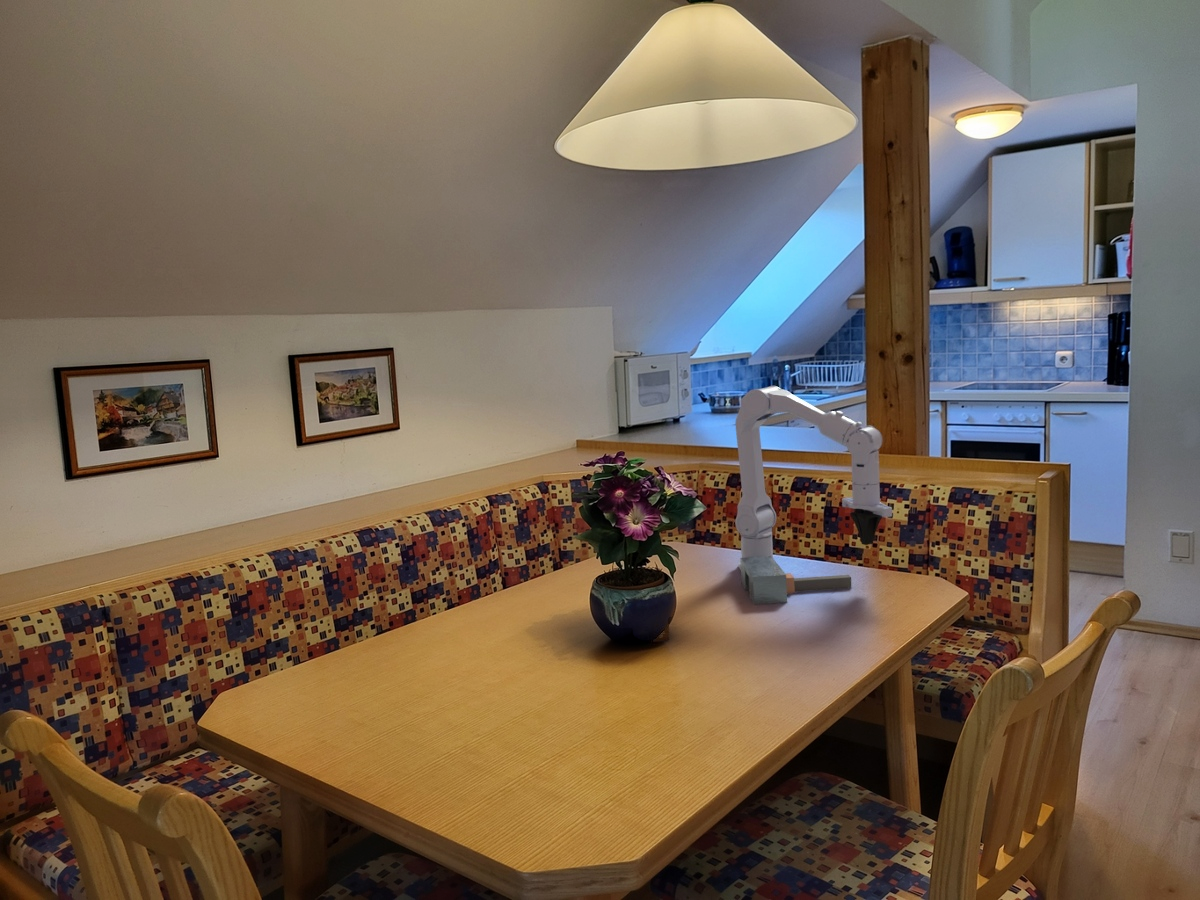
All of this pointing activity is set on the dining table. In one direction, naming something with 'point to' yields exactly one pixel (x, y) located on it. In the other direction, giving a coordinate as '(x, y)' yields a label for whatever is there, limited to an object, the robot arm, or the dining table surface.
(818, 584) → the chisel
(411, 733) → the dining table surface
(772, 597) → the block
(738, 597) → the dining table surface
